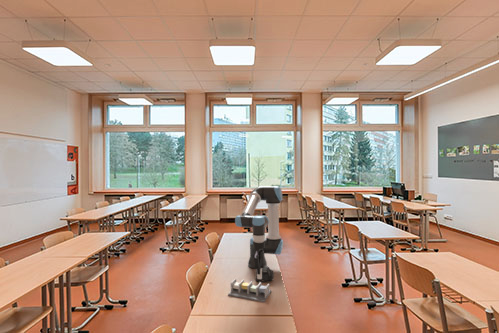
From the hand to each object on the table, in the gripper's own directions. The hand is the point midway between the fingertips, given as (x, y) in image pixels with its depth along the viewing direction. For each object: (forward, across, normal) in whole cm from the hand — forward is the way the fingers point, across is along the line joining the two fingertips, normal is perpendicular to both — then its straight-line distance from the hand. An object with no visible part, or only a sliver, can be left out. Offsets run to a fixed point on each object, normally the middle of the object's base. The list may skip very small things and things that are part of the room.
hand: (259, 278), depth 161 cm
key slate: (+7, 0, +2) cm, 8 cm away
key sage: (+8, 0, -4) cm, 9 cm away
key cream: (+8, 0, -16) cm, 18 cm away
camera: (+11, -21, -4) cm, 24 cm away
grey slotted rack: (+11, 0, -7) cm, 13 cm away
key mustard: (+7, 0, -10) cm, 12 cm away
